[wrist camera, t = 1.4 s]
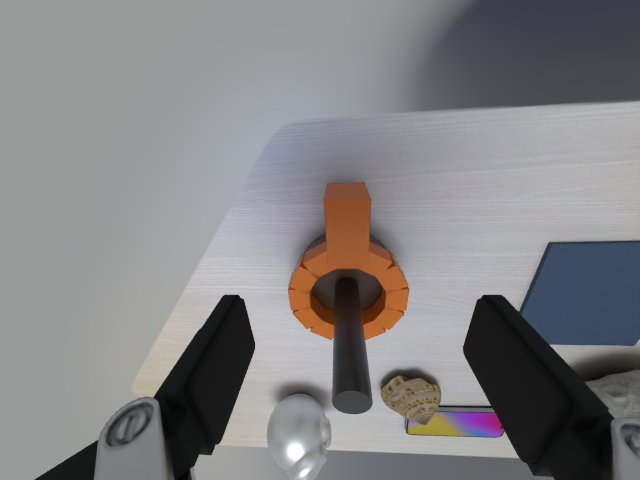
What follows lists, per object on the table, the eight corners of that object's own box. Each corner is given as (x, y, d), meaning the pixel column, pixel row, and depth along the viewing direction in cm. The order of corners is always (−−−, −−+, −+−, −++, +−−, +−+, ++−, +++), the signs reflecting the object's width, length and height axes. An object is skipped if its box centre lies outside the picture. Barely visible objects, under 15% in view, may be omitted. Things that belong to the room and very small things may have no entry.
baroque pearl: (311, 420, 41) (304, 503, 33) (265, 398, 39) (243, 480, 30) (344, 398, 38) (346, 484, 29) (295, 373, 36) (281, 457, 27)
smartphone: (408, 410, 37) (513, 412, 35) (407, 405, 37) (510, 407, 36) (405, 434, 40) (501, 438, 38) (404, 430, 41) (499, 433, 39)
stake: (297, 230, 25) (255, 344, 12) (395, 228, 24) (456, 347, 12) (305, 304, 29) (281, 441, 17) (388, 304, 28) (426, 448, 16)
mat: (548, 242, 24) (552, 244, 23) (710, 239, 22) (716, 241, 22) (506, 341, 30) (508, 343, 30) (630, 343, 29) (634, 345, 28)
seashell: (418, 373, 30) (458, 427, 30) (415, 348, 36) (450, 393, 35) (366, 396, 33) (402, 445, 33) (372, 369, 39) (403, 411, 38)
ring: (278, 185, 20) (264, 202, 16) (415, 179, 19) (436, 196, 15) (298, 325, 27) (291, 361, 23) (397, 326, 26) (408, 363, 22)
